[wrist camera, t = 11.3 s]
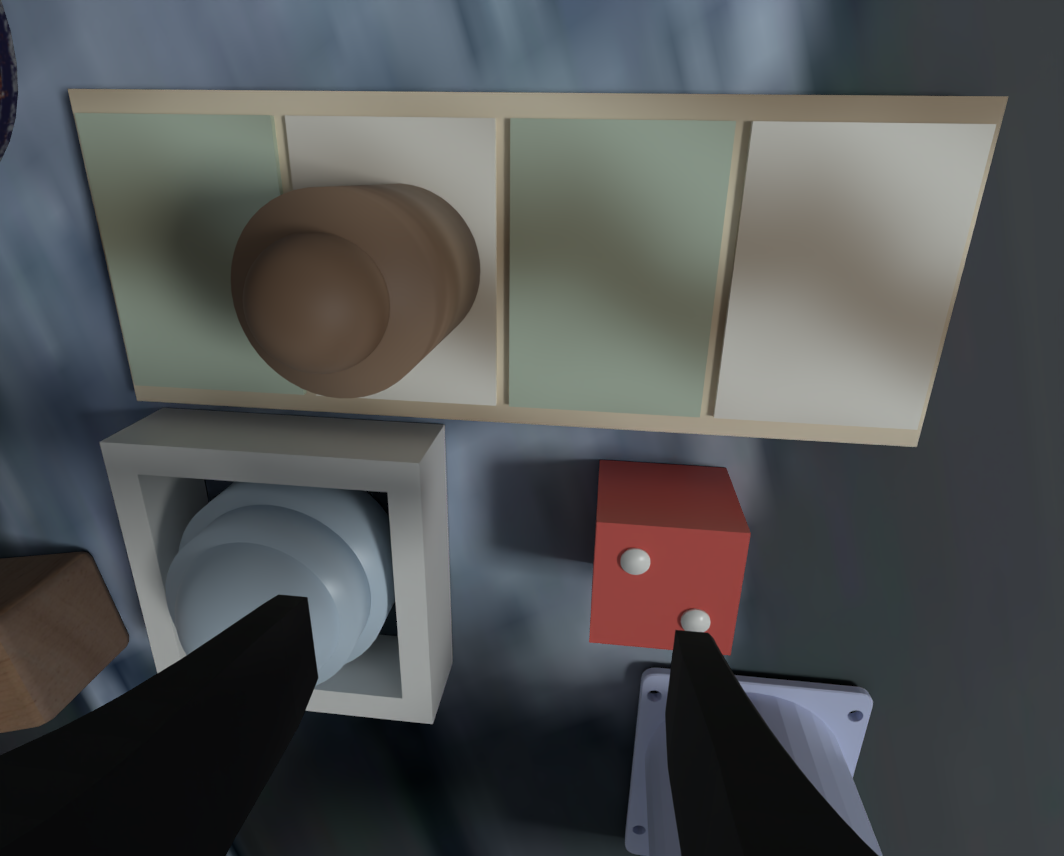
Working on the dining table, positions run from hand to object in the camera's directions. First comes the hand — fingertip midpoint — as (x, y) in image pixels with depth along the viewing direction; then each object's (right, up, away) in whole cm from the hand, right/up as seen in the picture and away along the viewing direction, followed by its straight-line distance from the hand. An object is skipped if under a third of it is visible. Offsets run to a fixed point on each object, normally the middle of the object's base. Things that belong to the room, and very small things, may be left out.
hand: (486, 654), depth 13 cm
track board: (0, +9, +7) cm, 11 cm away
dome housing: (-7, 0, +11) cm, 13 cm away
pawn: (-3, +9, +6) cm, 11 cm away
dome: (-7, 0, +10) cm, 12 cm away
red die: (+5, +1, +9) cm, 10 cm away
